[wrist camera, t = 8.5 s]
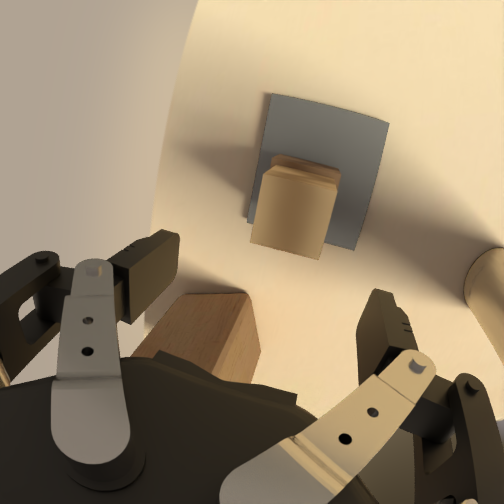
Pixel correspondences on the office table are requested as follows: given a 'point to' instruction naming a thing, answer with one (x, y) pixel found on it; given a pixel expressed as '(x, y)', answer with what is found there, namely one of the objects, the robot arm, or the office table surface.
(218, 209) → the office table surface
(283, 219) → the oak block
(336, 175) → the walnut block
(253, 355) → the block
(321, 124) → the plate
